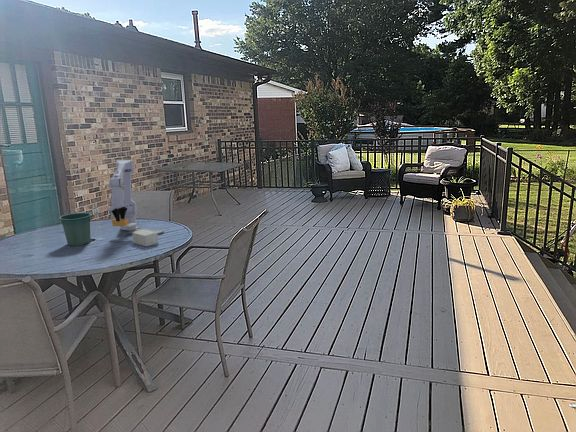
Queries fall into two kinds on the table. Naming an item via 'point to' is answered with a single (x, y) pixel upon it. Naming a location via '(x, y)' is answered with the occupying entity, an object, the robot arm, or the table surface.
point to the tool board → (148, 230)
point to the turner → (123, 223)
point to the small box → (145, 237)
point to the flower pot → (76, 228)
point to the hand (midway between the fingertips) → (120, 220)
